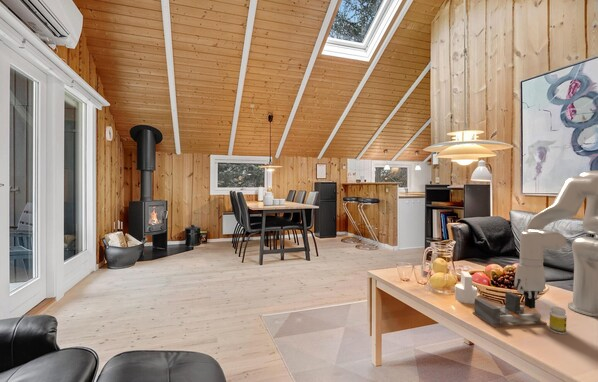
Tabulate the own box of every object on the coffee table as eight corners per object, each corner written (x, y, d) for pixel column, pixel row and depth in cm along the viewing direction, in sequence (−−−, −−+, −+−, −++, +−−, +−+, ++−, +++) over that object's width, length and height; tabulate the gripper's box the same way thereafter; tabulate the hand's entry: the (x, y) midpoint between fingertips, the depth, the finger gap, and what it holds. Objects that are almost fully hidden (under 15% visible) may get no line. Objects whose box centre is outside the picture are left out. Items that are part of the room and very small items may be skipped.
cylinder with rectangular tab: (479, 304, 135) (480, 278, 135) (456, 302, 138) (457, 276, 138) (474, 297, 144) (475, 272, 143) (453, 294, 147) (454, 270, 146)
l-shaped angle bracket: (508, 313, 125) (509, 291, 124) (527, 323, 116) (528, 300, 115) (489, 314, 124) (490, 292, 123) (507, 324, 115) (508, 301, 114)
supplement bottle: (567, 335, 108) (568, 312, 108) (550, 332, 111) (551, 309, 111) (564, 330, 113) (565, 307, 112) (548, 326, 115) (549, 305, 115)
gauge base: (520, 311, 129) (520, 295, 129) (546, 324, 117) (547, 307, 117) (472, 313, 126) (473, 297, 126) (494, 327, 114) (495, 310, 114)
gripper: (539, 259, 126) (537, 302, 127) (506, 260, 125) (505, 304, 125) (556, 264, 119) (555, 310, 120) (522, 265, 117) (520, 312, 118)
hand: (529, 306), depth 123 cm, fingers closed
